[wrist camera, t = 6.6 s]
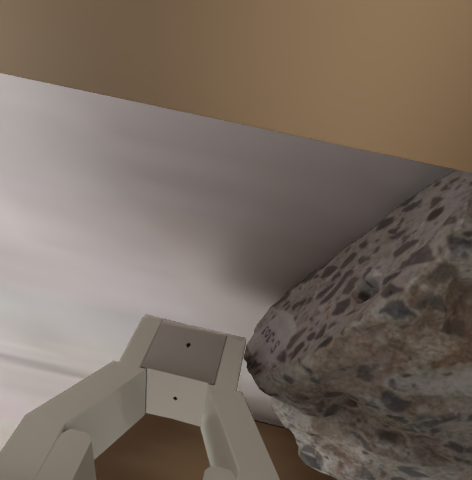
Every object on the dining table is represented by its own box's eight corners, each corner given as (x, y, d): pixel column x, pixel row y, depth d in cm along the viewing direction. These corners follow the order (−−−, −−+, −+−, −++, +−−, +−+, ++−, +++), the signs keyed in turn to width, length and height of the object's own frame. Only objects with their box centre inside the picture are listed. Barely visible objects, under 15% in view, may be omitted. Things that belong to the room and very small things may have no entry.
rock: (226, 327, 13) (194, 449, 10) (568, 40, 7) (794, 91, 4) (409, 449, 15) (437, 586, 12) (790, 301, 9) (1065, 485, 6)
